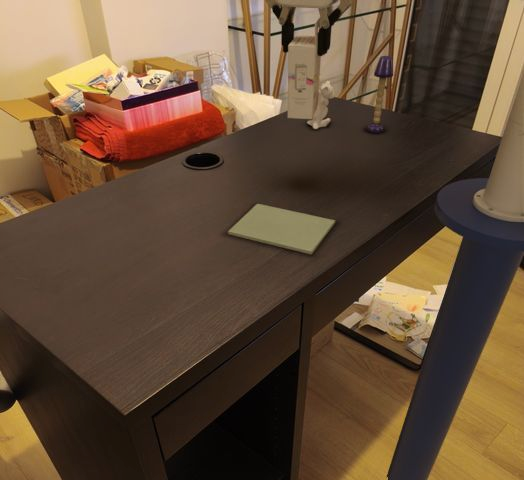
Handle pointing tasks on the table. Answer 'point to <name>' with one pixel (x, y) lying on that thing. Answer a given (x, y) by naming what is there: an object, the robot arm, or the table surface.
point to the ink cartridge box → (303, 75)
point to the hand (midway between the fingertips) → (305, 51)
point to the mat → (283, 228)
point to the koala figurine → (322, 105)
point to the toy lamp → (380, 90)
